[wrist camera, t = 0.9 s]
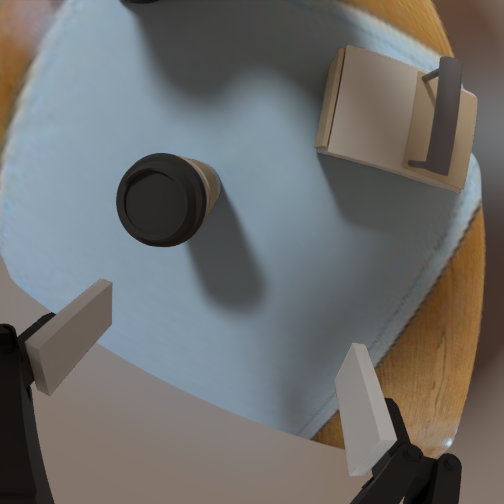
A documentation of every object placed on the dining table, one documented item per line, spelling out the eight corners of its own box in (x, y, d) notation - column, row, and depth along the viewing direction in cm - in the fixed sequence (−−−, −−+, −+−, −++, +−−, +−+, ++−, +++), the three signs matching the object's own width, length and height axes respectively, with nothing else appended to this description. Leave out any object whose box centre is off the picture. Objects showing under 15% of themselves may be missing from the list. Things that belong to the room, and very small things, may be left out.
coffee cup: (240, 203, 40) (217, 231, 26) (181, 230, 42) (134, 269, 28) (211, 141, 38) (172, 134, 24) (153, 171, 40) (92, 183, 26)
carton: (328, 64, 34) (341, 41, 25) (441, 102, 33) (475, 94, 25) (312, 151, 37) (321, 150, 29) (427, 184, 37) (459, 193, 28)
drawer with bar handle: (414, 70, 25) (446, 52, 18) (475, 99, 25) (514, 91, 17) (398, 166, 28) (430, 171, 21) (461, 189, 28) (500, 200, 21)
